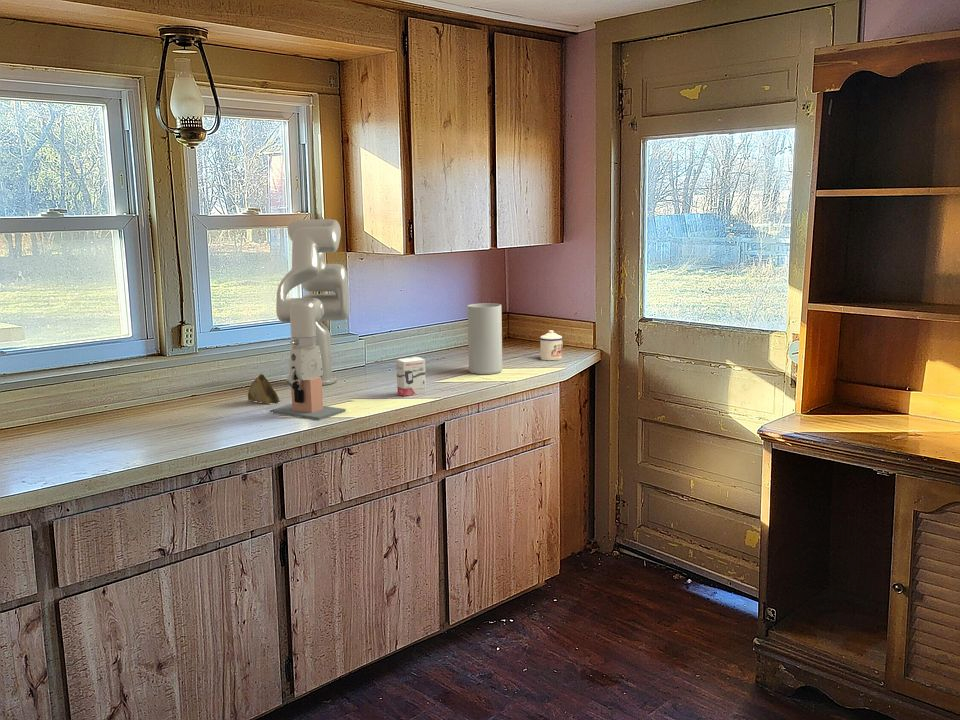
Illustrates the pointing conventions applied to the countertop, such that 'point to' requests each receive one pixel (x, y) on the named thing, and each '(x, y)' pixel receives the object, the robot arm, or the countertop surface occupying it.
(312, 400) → the terracotta block
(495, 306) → the cylinder vase
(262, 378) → the rock
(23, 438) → the countertop surface
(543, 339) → the teacup with lid
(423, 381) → the ink box
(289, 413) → the mat
